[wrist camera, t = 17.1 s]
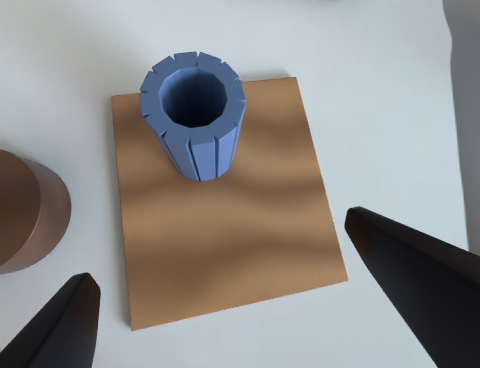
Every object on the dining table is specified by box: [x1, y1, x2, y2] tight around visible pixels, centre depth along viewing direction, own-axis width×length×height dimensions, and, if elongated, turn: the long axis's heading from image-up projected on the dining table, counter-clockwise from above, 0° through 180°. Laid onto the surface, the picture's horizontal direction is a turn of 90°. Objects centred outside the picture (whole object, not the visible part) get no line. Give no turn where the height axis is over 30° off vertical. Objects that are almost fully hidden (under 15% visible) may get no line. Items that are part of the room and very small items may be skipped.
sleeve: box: [139, 52, 246, 181], centre depth 17 cm, size 6×6×8 cm
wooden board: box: [111, 77, 348, 331], centre depth 21 cm, size 20×18×1 cm
